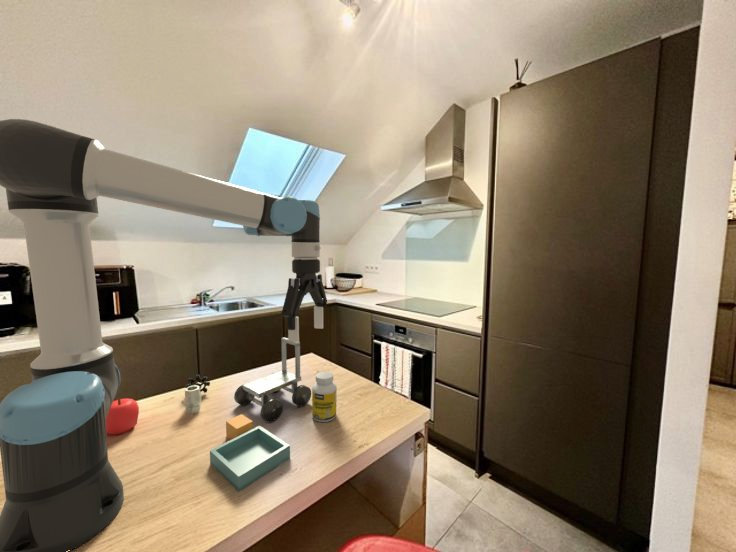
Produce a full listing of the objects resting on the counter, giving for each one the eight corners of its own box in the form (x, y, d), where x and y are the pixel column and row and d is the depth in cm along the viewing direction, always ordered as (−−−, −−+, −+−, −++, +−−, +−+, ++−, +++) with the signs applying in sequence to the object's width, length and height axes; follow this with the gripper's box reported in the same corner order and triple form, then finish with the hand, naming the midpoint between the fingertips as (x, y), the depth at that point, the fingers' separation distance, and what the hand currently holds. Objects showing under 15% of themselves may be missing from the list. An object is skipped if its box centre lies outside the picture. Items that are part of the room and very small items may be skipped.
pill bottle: (307, 420, 80) (307, 378, 79) (318, 408, 86) (318, 369, 85) (330, 425, 78) (330, 381, 77) (340, 412, 84) (340, 372, 83)
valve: (205, 412, 84) (210, 393, 95) (204, 389, 83) (209, 372, 94) (177, 417, 81) (186, 396, 92) (176, 393, 81) (185, 375, 92)
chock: (237, 445, 70) (236, 428, 70) (226, 436, 73) (225, 421, 73) (253, 437, 73) (252, 421, 73) (242, 429, 76) (241, 414, 76)
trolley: (264, 426, 77) (263, 358, 76) (234, 406, 87) (232, 346, 85) (311, 402, 90) (310, 343, 88) (280, 387, 99) (279, 334, 97)
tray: (239, 491, 57) (238, 476, 56) (210, 464, 64) (209, 450, 63) (290, 458, 66) (289, 445, 65) (259, 437, 73) (259, 425, 73)
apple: (132, 417, 81) (130, 388, 80) (147, 426, 77) (145, 396, 76) (94, 432, 74) (91, 401, 73) (107, 443, 70) (105, 410, 69)
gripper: (292, 260, 70) (294, 349, 72) (337, 257, 93) (338, 324, 96) (265, 260, 72) (267, 346, 74) (315, 256, 96) (316, 322, 98)
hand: (307, 334), depth 85 cm, fingers open, 13 cm apart
